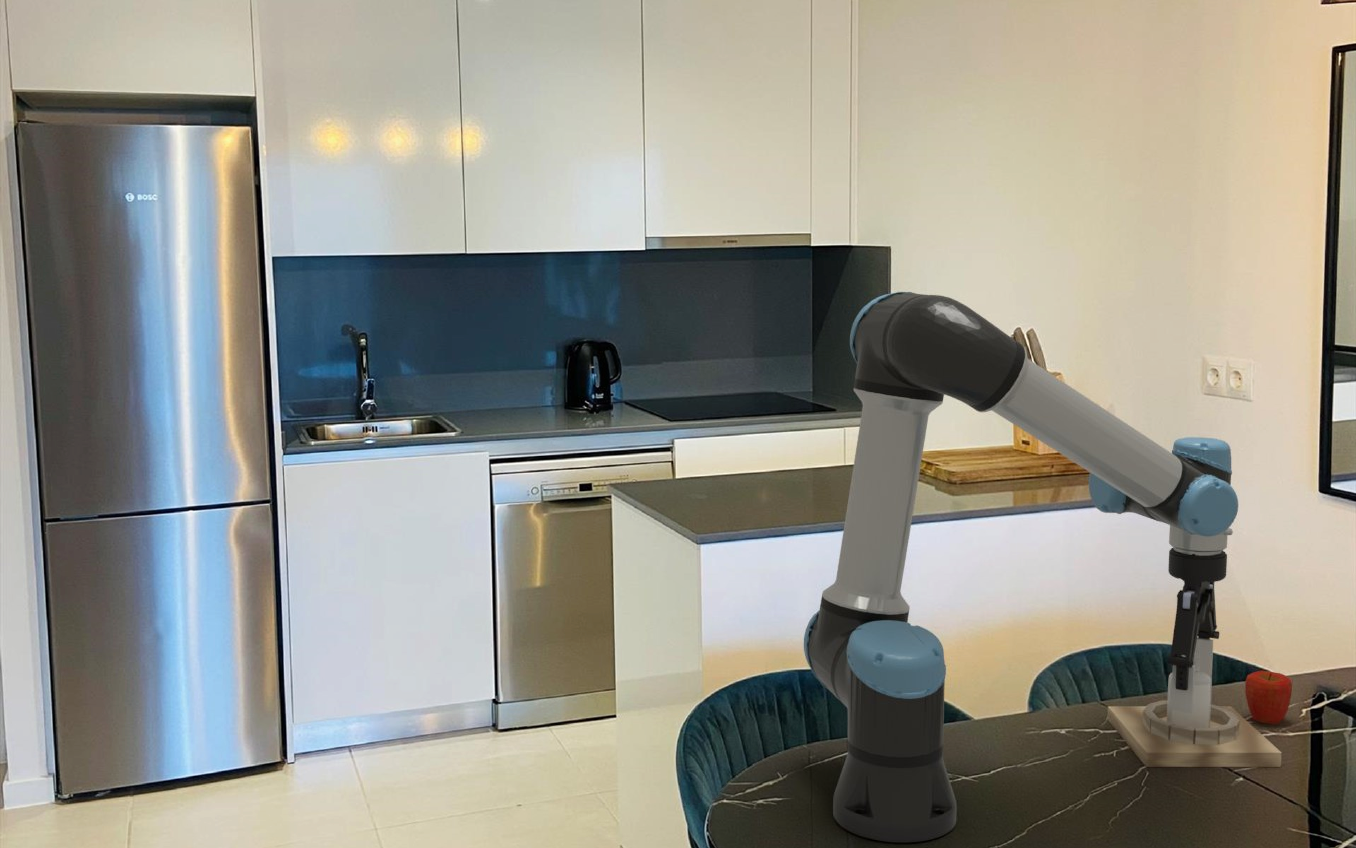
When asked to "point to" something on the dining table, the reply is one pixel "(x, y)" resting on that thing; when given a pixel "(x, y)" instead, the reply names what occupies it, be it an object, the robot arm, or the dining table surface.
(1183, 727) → the socket stand
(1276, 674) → the apple
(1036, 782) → the dining table surface
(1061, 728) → the dining table surface
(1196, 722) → the eye dropper bottle
